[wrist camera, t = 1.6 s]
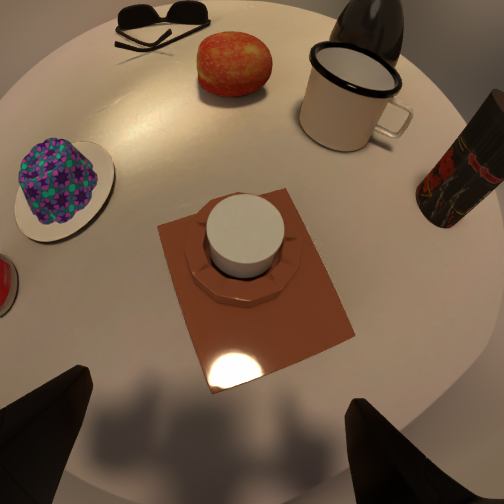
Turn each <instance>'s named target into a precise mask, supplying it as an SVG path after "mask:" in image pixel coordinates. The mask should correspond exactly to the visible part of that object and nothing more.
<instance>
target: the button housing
mask: <svg viewBox="0 0 504 504" xmlns="http://www.w3.org/2000/svg"><path fill="white" fill-rule="evenodd" d="M239 194H246V193H240V192H239V193H238V192H237V193H233V194H230V195H226V196H223V197H219V198H216V199H212V200H210V201H209V202H208V203H207V204H206V205H205V206H204V207H203V208H202V209H201V210H200V211H199V212H198V213H197V214H194V215H191V216H187V217H184V218H181V219H178V220H175V221H172V222H168V223H165V224H162V225H159V226H157V228H158V232H159V236H160V239H161V243H162V247H163V250H164V254H165V257H166V261H167V264H168V268H169V271H170V274H171V278H172V281H173V284H174V287H175V291H176V294H177V297H178V300H179V303H180V306H181V309H182V313H183V316H184V319H185V322H186V325H187V328H188V330H189V333H190V336H191V339H192V342H193V345H194V348H195V351H196V353H197V356H198V359H199V362H200V364H201V367H202V370H203V372H204V375H205V378H206V380H207V383H208V386H209V388H210V391H211V393H212V394H215V393H218V392H221V391H224V390H226V389H229V388H232V387H235V386H238V385H241V384H243V383H246V382H249V381H252V380H254V379H257V378H260V377H262V376H265V375H267V374H270V373H273V372H275V371H278V370H280V369H283V368H285V367H287V366H290V365H292V364H295V363H297V362H299V361H302V360H304V359H306V358H309V357H311V356H313V355H316V354H318V353H320V352H322V351H324V350H327V349H329V348H331V347H333V346H335V345H338V344H340V343H342V342H344V341H346V340H348V339H350V338H352V337H354V336H355V333H354V331H353V329H352V326H351V324H350V322H349V319H348V317H347V315H346V313H345V310H344V308H343V306H342V304H341V301H340V299H339V297H338V295H337V293H336V290H335V288H334V286H333V284H332V282H331V280H330V277H329V275H328V273H327V271H326V269H325V267H324V265H323V263H322V260H321V258H320V256H319V254H318V252H317V250H316V248H315V246H314V244H313V242H312V240H311V238H310V236H309V234H308V231H307V229H306V227H305V225H304V223H303V221H302V219H301V217H300V215H299V213H298V211H297V209H296V207H295V206H294V204H293V202H292V200H291V198H290V196H289V194H288V192H287V190H286V188H284V189H281V190H277V191H273V192H270V193H266V194H262V195H259V197H261V198H263V199H265V200H267V201H269V202H270V203H271V204H272V205H274V206H275V207H276V209H277V210H278V211H279V213H280V215H281V216H282V219H283V222H284V229H285V231H284V238H283V241H282V244H281V246H280V249H279V251H278V254H277V257H276V259H275V261H274V263H273V264H272V265H271V267H270V268H269V269H268V270H266V271H265V272H264V273H262V274H260V275H258V276H255V277H251V278H237V277H233V276H230V275H228V274H226V273H224V272H223V271H221V270H220V269H219V268H218V267H217V266H216V265H215V264H214V262H213V260H212V258H211V256H210V253H209V247H208V239H207V230H206V226H207V220H208V217H209V215H210V213H211V211H212V210H213V208H214V207H215V206H216V205H217V204H218V203H219V202H221V201H222V200H224V199H226V198H228V197H230V196H234V195H239ZM250 195H252V194H250ZM255 196H258V195H255Z"/></svg>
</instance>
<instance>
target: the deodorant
mask: <svg viewBox="0 0 504 504" xmlns="http://www.w3.org/2000/svg"><path fill="white" fill-rule="evenodd" d="M503 181H504V92H502V91H500V90H498V89H493V90H492V91H491V93H490V94H489V96H488V97H487V99H486V100H485V101H484V103H483V104H482V106H481V107H480V108H479V110H478V111H477V112H476V114H475V115H474V116H473V118H472V119H471V121H470V122H469V123H468V125H467V126H466V127H465V129H464V130H463V131H462V133H461V134H460V135H459V136H458V138H457V139H456V140H455V142H454V143H453V144H452V146H451V147H450V148H449V149H448V151H447V152H446V153H445V154H444V156H443V157H442V158H441V159H440V161H439V162H438V163H437V164H436V166H435V167H434V168H433V169H432V171H431V172H430V173H429V174H428V175H427V177H426V178H425V179H424V180H423V181H422V183H421V184H420V185H419V186H418V188H417V191H416V199H417V203H418V205H419V208H420V210H421V211H422V213H423V214H424V216H425V217H426V218H427V219H428V220H429V221H430V222H432V223H433V224H434V225H436V226H438V227H441V228H450V227H452V226H453V225H455V224H456V223H457V222H458V221H459V220H461V219H462V218H463V217H464V216H465V215H466V214H467V213H469V212H470V211H471V210H472V209H473V208H474V207H475V206H477V205H478V204H479V203H480V202H481V201H482V200H483V199H484V198H485V197H487V196H488V195H489V194H490V193H491V192H492V191H493V190H494V189H495V188H496V187H497V186H498V185H499V184H500V183H502V182H503Z"/></svg>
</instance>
